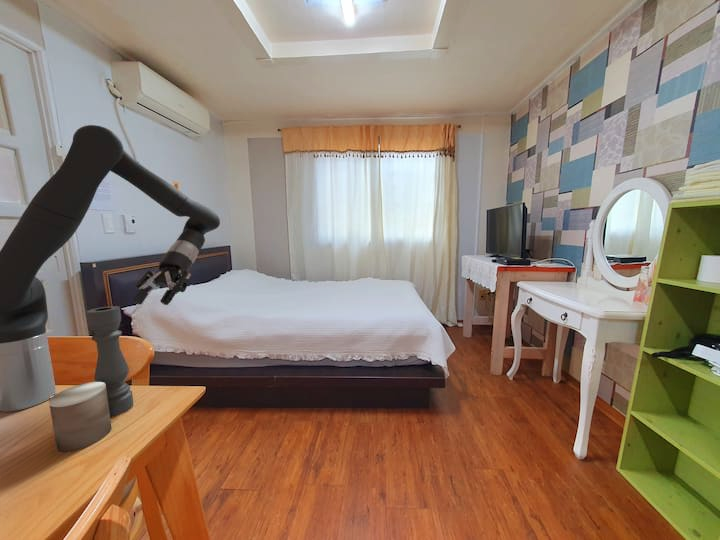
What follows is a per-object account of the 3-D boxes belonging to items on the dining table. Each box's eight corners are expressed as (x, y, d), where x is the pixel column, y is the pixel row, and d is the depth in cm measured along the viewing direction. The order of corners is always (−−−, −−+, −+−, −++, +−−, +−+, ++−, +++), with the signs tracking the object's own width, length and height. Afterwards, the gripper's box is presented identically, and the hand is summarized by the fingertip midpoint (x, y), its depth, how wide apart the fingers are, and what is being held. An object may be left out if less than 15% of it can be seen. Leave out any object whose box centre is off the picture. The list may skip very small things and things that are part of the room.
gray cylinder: (62, 435, 57) (54, 391, 56) (113, 419, 62) (107, 377, 61) (52, 459, 51) (43, 409, 49) (109, 438, 56) (103, 393, 54)
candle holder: (140, 403, 67) (127, 306, 64) (111, 420, 61) (96, 313, 58) (122, 400, 69) (109, 305, 66) (92, 415, 63) (77, 312, 60)
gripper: (151, 250, 82) (116, 295, 72) (193, 249, 79) (163, 296, 70) (168, 265, 88) (138, 309, 78) (207, 265, 85) (181, 310, 75)
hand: (150, 303), depth 74 cm, fingers open, 8 cm apart
